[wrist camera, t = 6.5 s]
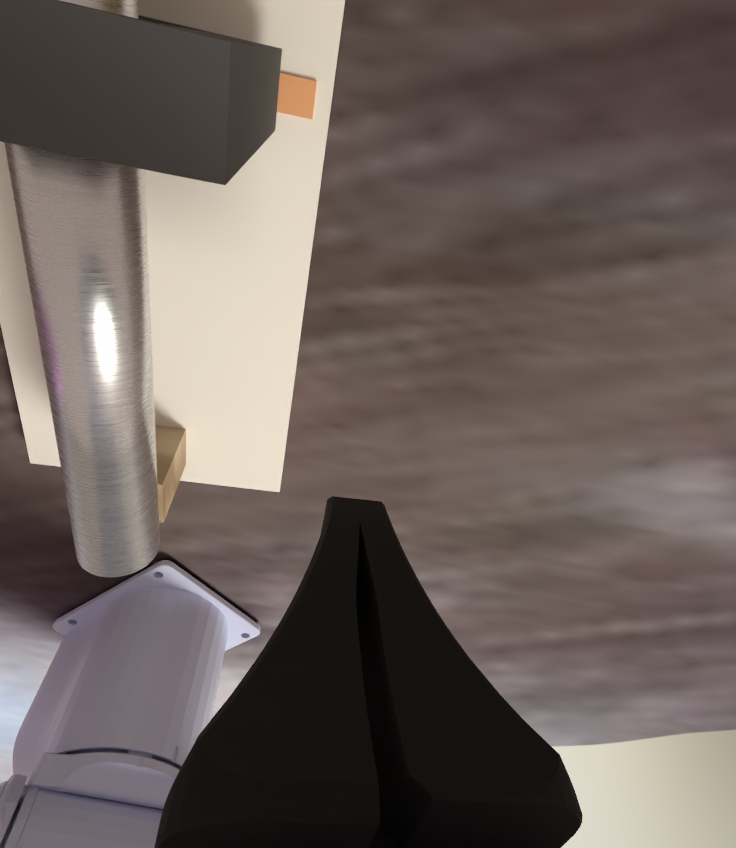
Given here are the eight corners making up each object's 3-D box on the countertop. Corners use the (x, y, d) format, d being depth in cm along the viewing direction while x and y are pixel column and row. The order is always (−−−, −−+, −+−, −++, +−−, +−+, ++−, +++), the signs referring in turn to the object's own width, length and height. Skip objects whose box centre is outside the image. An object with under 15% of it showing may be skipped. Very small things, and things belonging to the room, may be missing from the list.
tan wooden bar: (185, 464, 24) (163, 522, 21) (130, 457, 23) (99, 515, 20) (185, -175, 13) (136, -246, 10) (78, -206, 12) (-5, -288, 9)
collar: (275, 130, 15) (225, 185, 9) (-21, 68, 14) (-327, 77, 8) (281, 48, 14) (230, 42, 8) (-38, -27, 13) (-413, -109, 7)
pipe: (175, 519, 21) (151, 586, 18) (90, 511, 21) (53, 577, 18) (162, -235, 10) (97, -340, 7) (-23, -290, 9) (-164, -423, 7)
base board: (281, 478, 26) (279, 493, 25) (41, 449, 24) (29, 464, 23) (367, -168, 13) (369, -184, 13) (-109, -311, 12) (-146, -341, 11)
